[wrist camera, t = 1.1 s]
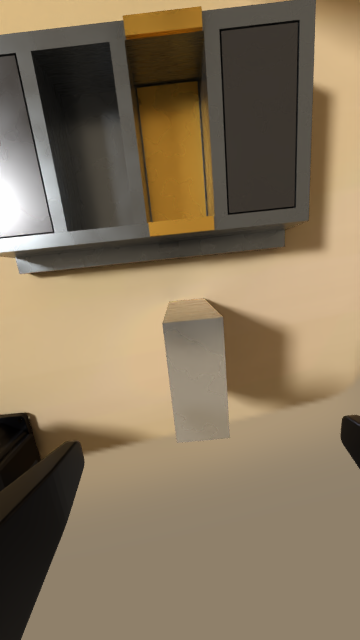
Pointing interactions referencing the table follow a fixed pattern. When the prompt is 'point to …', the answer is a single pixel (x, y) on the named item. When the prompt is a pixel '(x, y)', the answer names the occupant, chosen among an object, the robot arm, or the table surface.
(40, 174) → the rack
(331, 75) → the table surface
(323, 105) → the table surface
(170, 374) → the plain gray rectangular block
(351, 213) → the table surface
